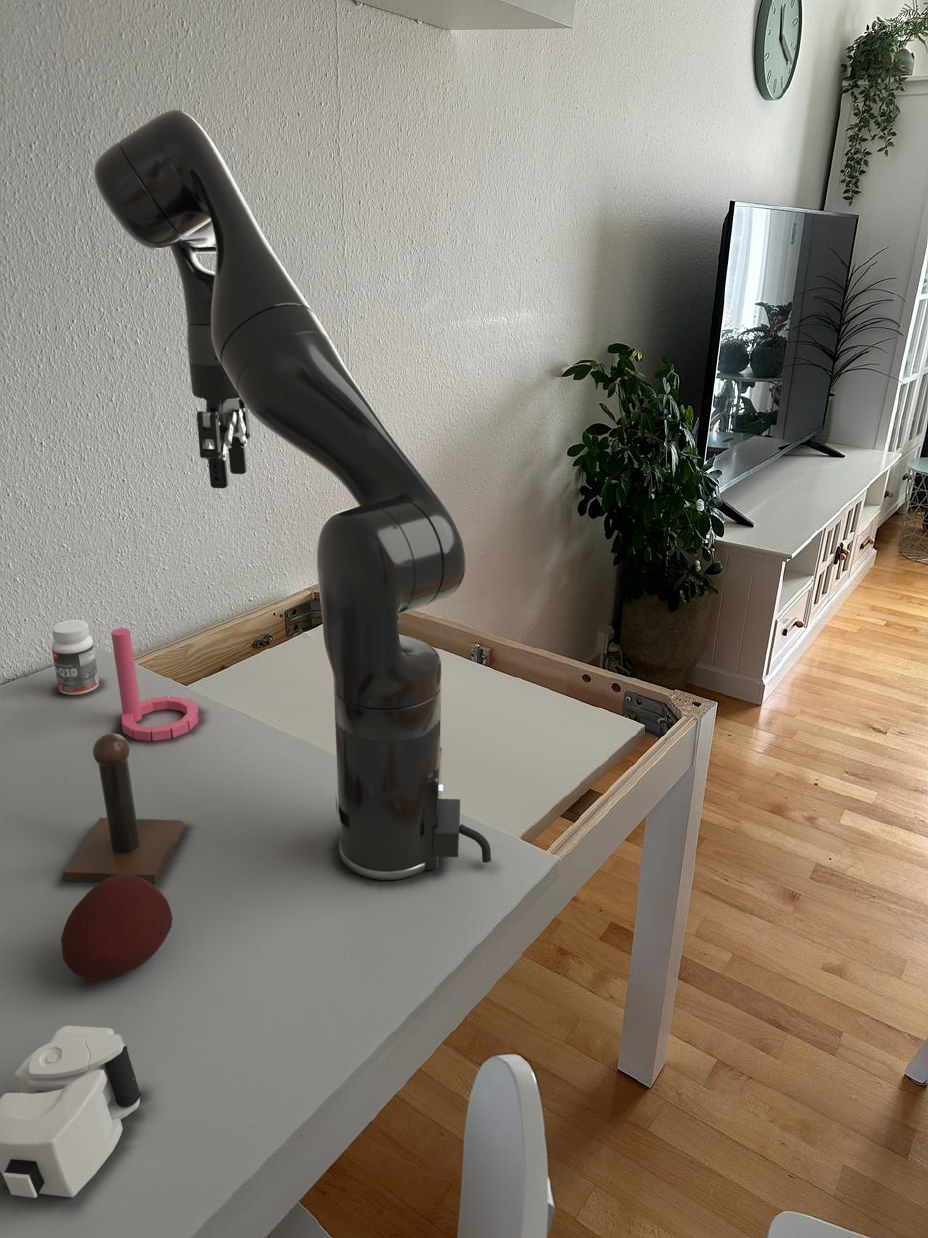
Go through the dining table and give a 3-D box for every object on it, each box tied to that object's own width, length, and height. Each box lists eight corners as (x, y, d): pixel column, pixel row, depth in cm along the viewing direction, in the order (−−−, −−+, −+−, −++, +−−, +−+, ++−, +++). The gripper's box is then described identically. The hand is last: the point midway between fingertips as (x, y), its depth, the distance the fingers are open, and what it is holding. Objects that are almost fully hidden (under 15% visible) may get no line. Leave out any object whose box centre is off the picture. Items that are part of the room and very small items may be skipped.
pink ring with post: (210, 709, 107) (202, 623, 103) (176, 745, 100) (165, 654, 95) (143, 701, 109) (132, 616, 105) (105, 735, 101) (91, 645, 97)
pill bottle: (50, 691, 111) (39, 629, 107) (78, 675, 115) (68, 615, 111) (80, 699, 109) (69, 636, 106) (107, 683, 113) (98, 622, 110)
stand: (184, 828, 86) (170, 714, 81) (155, 884, 78) (138, 762, 74) (101, 826, 86) (82, 711, 81) (65, 881, 79) (41, 759, 74)
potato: (62, 992, 69) (22, 921, 67) (147, 917, 75) (113, 850, 73) (118, 1012, 65) (76, 937, 62) (203, 931, 71) (168, 860, 69)
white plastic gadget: (158, 1067, 61) (90, 1222, 52) (65, 1060, 61) (-18, 1213, 52) (141, 1007, 58) (66, 1160, 49) (44, 1001, 59) (-47, 1151, 50)
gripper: (229, 365, 111) (241, 493, 117) (261, 354, 124) (270, 469, 130) (170, 364, 111) (184, 492, 118) (208, 353, 125) (219, 468, 131)
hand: (229, 480), depth 124 cm, fingers open, 8 cm apart
